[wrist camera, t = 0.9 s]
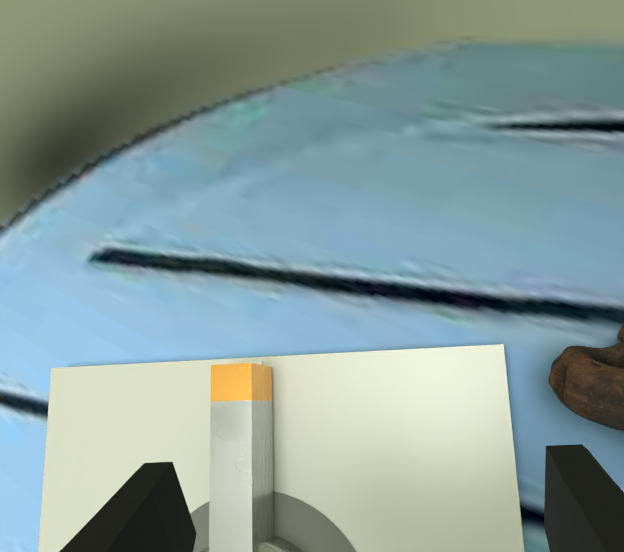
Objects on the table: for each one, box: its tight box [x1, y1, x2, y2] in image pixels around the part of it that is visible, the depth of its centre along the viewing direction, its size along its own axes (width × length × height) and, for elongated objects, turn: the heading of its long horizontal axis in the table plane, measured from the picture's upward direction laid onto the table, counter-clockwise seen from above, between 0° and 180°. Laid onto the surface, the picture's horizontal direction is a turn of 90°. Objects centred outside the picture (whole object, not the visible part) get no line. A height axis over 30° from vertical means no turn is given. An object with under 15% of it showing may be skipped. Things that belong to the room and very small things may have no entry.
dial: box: [200, 363, 303, 552], centre depth 24 cm, size 14×7×3 cm, turn 2°
